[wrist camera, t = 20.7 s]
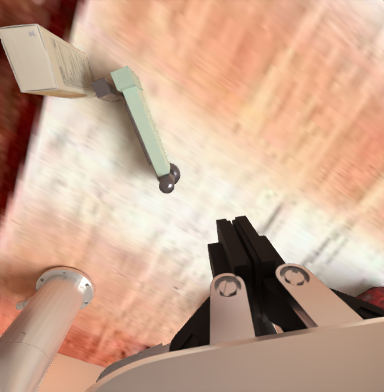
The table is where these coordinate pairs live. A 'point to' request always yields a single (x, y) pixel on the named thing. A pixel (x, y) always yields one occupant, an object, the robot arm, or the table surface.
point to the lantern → (374, 296)
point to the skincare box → (46, 63)
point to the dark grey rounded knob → (169, 179)
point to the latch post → (110, 93)
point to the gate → (142, 117)
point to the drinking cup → (262, 326)
